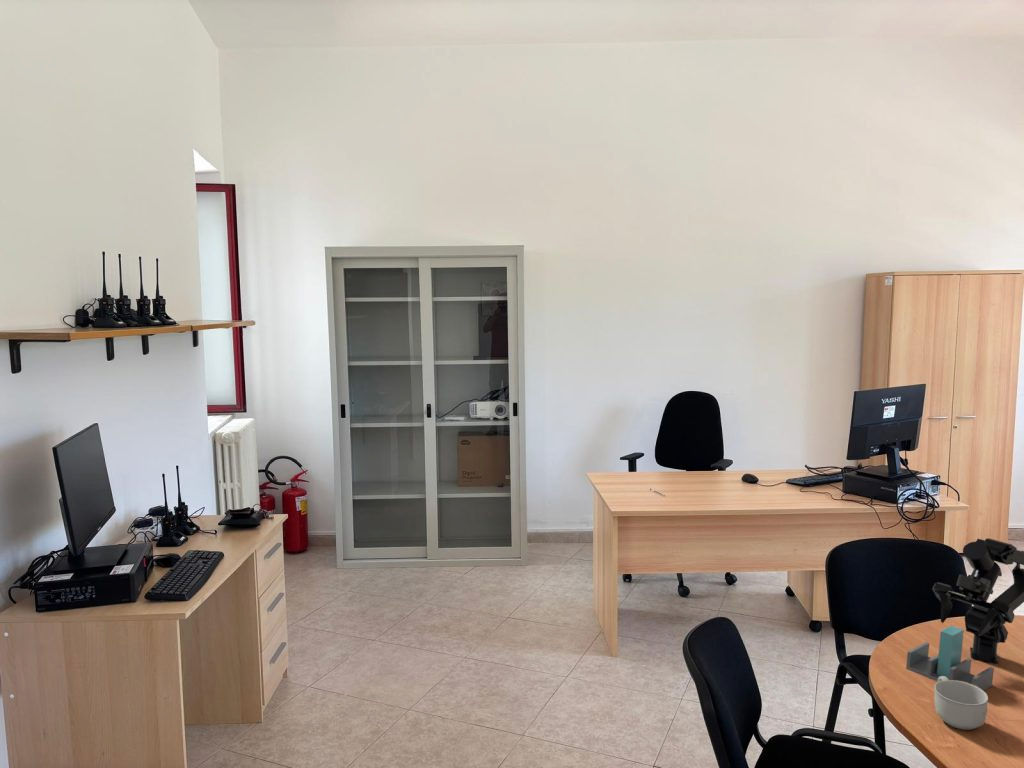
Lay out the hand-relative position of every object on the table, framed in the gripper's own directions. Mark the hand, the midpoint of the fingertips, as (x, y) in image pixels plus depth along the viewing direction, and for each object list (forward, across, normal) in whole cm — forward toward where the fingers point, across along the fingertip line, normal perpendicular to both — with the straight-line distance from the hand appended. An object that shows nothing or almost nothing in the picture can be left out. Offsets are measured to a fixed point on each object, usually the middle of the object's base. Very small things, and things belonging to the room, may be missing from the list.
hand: (959, 628), depth 196 cm
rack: (+12, 0, +6) cm, 13 cm away
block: (+11, 0, +5) cm, 12 cm away
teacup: (+26, +10, -8) cm, 29 cm away
